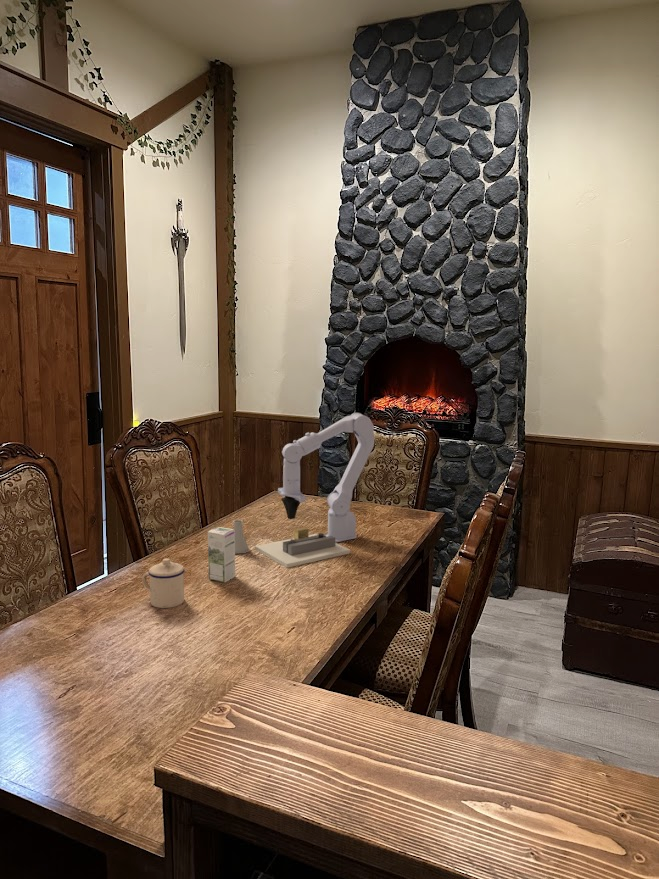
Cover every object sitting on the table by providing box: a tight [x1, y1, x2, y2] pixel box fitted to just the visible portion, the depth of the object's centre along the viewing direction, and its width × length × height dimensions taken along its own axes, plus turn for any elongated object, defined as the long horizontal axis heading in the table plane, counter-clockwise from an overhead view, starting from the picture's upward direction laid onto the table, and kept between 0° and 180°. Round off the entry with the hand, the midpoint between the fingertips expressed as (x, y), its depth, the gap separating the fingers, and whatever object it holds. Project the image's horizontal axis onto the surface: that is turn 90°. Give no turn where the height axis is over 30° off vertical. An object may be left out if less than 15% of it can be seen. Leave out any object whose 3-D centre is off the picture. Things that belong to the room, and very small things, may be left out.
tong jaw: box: [283, 532, 326, 553], centre depth 208 cm, size 15×2×4 cm, turn 125°
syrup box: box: [207, 526, 236, 584], centre depth 184 cm, size 6×6×14 cm
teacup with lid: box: [141, 558, 186, 609], centre depth 168 cm, size 12×9×12 cm
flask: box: [232, 519, 250, 555], centre depth 208 cm, size 7×7×10 cm
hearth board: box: [254, 533, 351, 569], centre depth 208 cm, size 24×20×4 cm
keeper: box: [293, 526, 309, 540], centre depth 214 cm, size 4×2×4 cm, turn 125°
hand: (291, 518), depth 219 cm, fingers closed
